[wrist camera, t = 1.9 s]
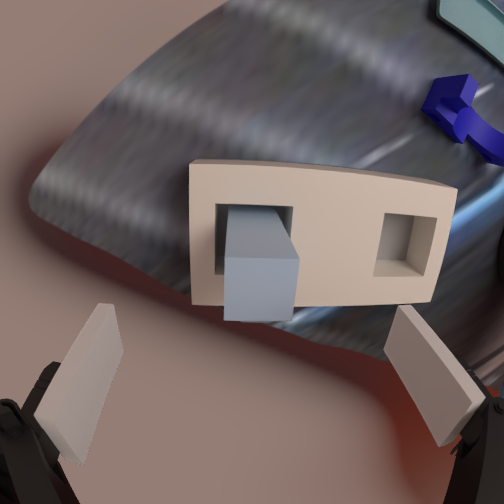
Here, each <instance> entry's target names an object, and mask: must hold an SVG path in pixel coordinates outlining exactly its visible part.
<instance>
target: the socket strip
mask: <svg viewBox="0 0 504 504" xmlns="http://www.w3.org/2000/svg"><path fill="white" fill-rule="evenodd" d="M457 191H458V189H456V188H453V187H450V186H447V185H445V184H442V183H439V182H436V181H433V180H430V179H424V178H419V177H413V176H407V175H400V174H394V173H387V172H380V171H373V170H365V169H357V168H348V167H339V166H330V165H320V164H308V163H296V162H281V161H264V160H242V159H196V160H195V161H193V162H192V163H190V164H189V235H190V270H191V294H192V305H213V306H224V271H225V247H226V234H227V222H228V210H229V205H259V206H274V208H275V210H276V212H277V214H278V216H279V218H280V220H281V222H282V224H283V226H284V228H285V230H286V232H287V234H288V236H289V238H290V240H291V242H292V244H293V246H294V248H295V250H296V252H297V254H298V256H299V258H300V263H299V271H298V279H297V287H296V294H295V302H294V307H307V306H356V305H383V304H403V303H420V302H430V301H431V298H432V295H433V292H434V288H435V285H436V282H437V278H438V275H439V272H440V268H441V264H442V261H443V257H444V253H445V249H446V245H447V241H448V237H449V232H450V228H451V223H452V218H453V213H454V208H455V202H456V197H457Z"/></svg>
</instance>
